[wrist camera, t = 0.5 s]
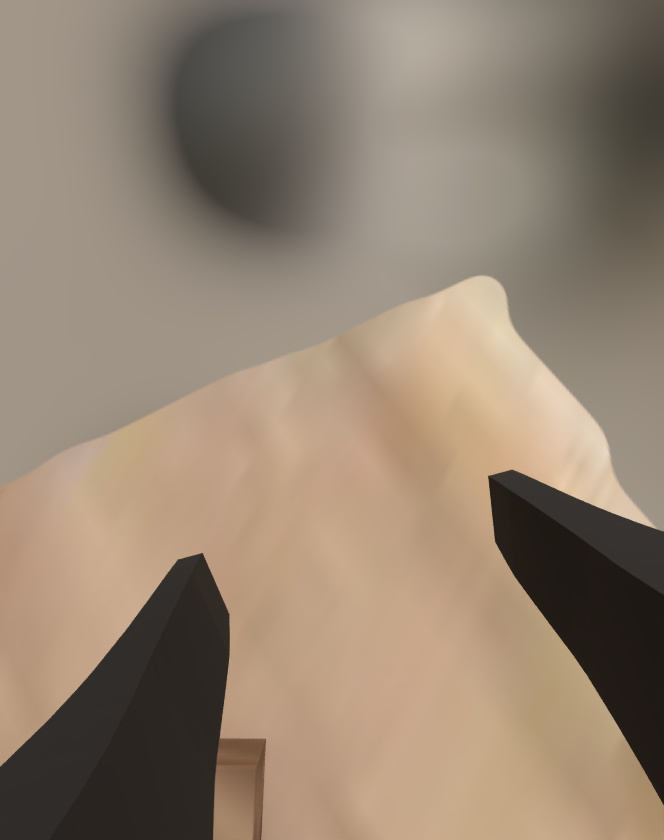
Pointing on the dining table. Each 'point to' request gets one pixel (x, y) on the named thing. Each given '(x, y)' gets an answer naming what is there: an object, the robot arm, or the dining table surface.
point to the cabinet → (239, 789)
